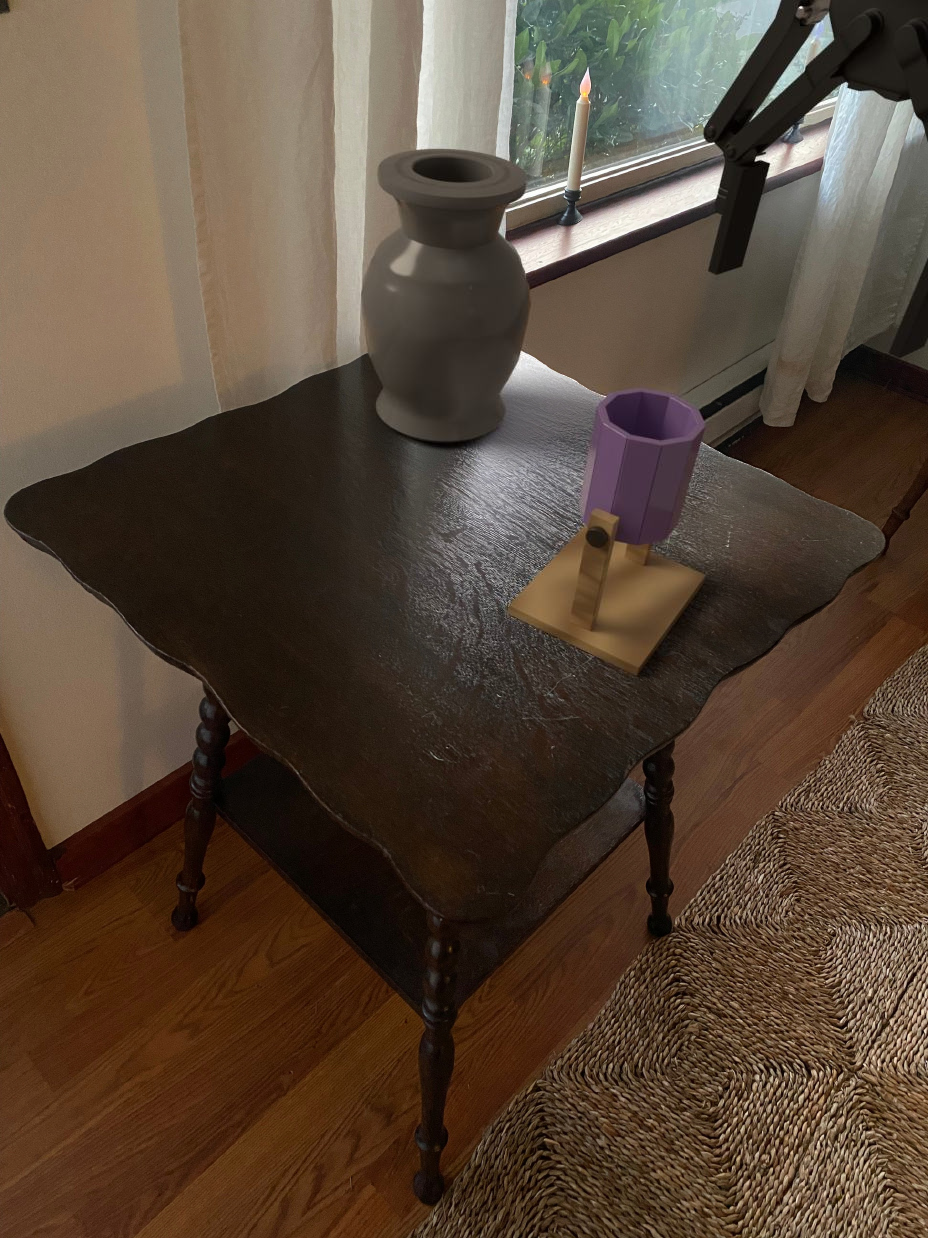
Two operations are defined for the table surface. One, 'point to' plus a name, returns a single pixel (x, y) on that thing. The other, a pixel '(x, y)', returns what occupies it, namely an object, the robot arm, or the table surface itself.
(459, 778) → the table surface
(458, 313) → the vase
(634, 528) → the cup
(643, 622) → the swivel stand
